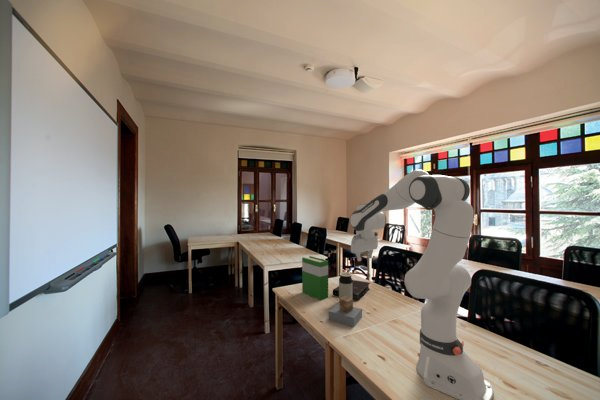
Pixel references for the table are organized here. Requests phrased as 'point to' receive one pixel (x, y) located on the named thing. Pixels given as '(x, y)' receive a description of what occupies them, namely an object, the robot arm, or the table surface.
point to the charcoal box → (345, 315)
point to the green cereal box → (315, 277)
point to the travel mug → (345, 285)
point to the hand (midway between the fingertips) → (364, 259)
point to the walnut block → (346, 304)
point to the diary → (356, 289)
